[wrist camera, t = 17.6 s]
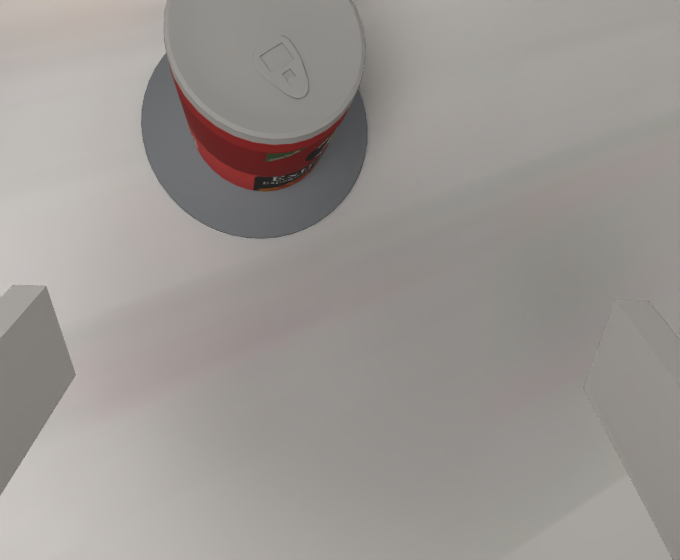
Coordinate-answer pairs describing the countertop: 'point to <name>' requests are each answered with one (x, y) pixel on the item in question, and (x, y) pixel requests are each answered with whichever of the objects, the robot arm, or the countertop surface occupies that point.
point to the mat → (233, 201)
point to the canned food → (264, 82)
